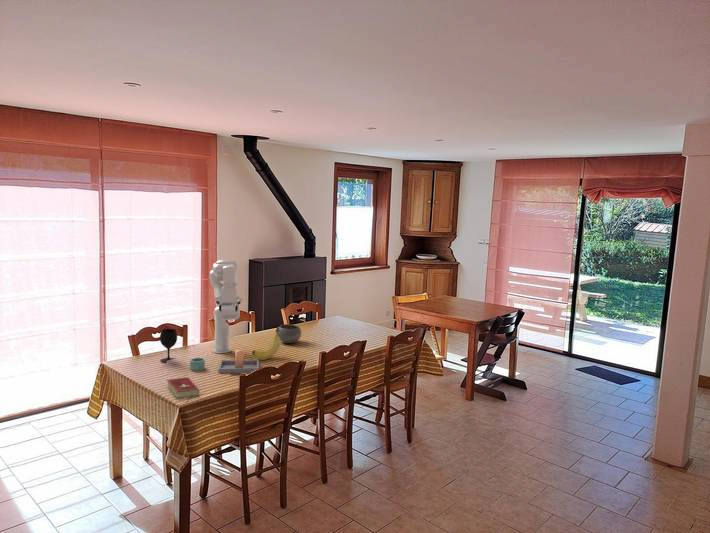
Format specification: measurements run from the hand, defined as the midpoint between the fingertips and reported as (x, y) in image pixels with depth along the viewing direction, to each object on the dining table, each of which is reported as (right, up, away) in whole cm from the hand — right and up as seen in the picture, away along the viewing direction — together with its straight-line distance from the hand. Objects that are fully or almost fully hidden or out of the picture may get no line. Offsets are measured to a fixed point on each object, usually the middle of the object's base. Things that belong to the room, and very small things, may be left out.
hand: (228, 311), depth 344 cm
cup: (-15, -35, -16) cm, 41 cm away
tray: (+9, -35, -11) cm, 38 cm away
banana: (+22, -33, +14) cm, 42 cm away
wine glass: (-38, -32, 0) cm, 50 cm away
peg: (+9, -34, -11) cm, 37 cm away
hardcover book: (-13, -40, -51) cm, 66 cm away
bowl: (+32, -29, +58) cm, 72 cm away
